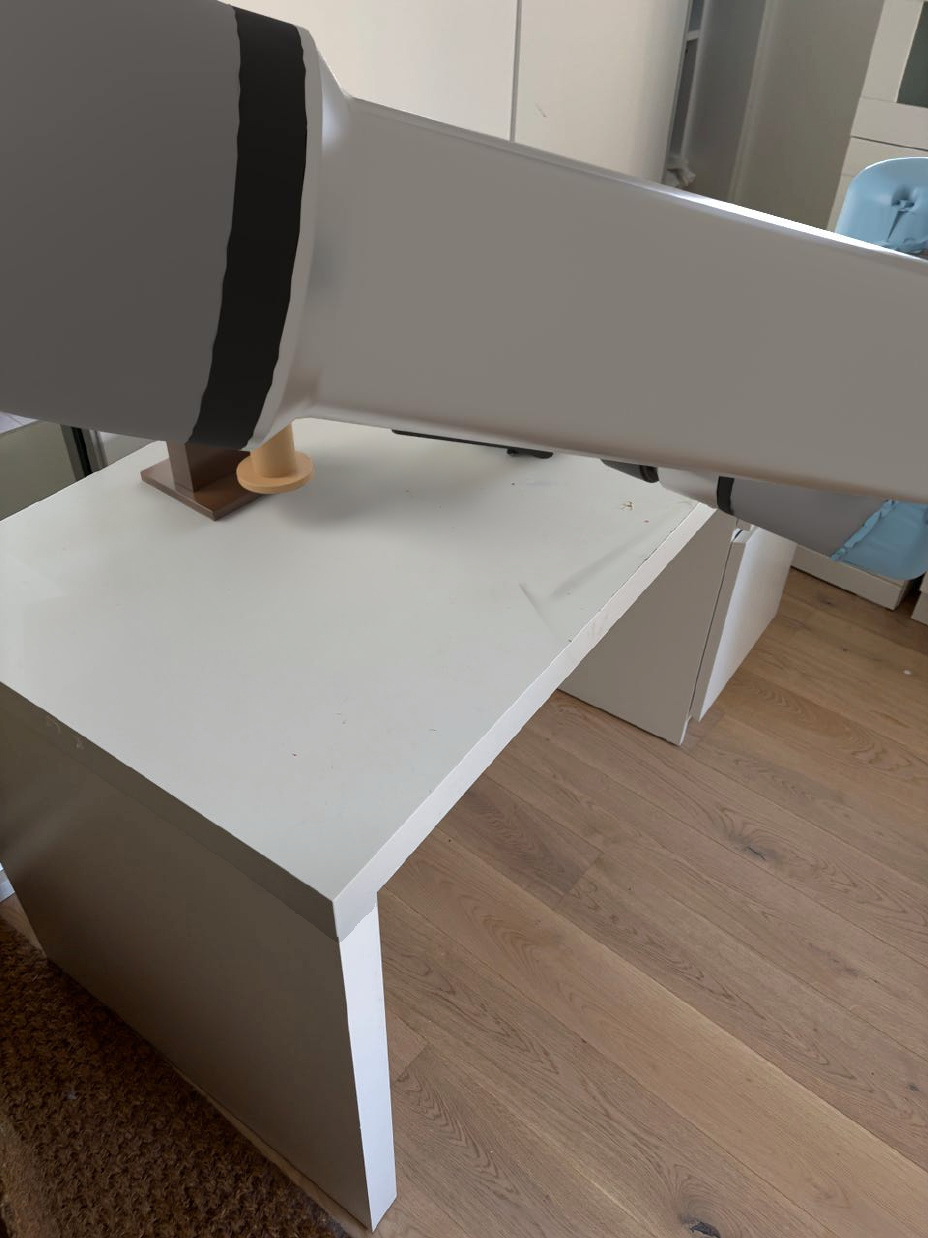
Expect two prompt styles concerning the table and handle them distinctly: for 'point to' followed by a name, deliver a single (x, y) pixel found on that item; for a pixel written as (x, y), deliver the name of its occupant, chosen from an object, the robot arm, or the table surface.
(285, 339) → the robot arm
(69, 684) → the table surface
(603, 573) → the table surface
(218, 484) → the wooden stand
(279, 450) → the round pedestal table
